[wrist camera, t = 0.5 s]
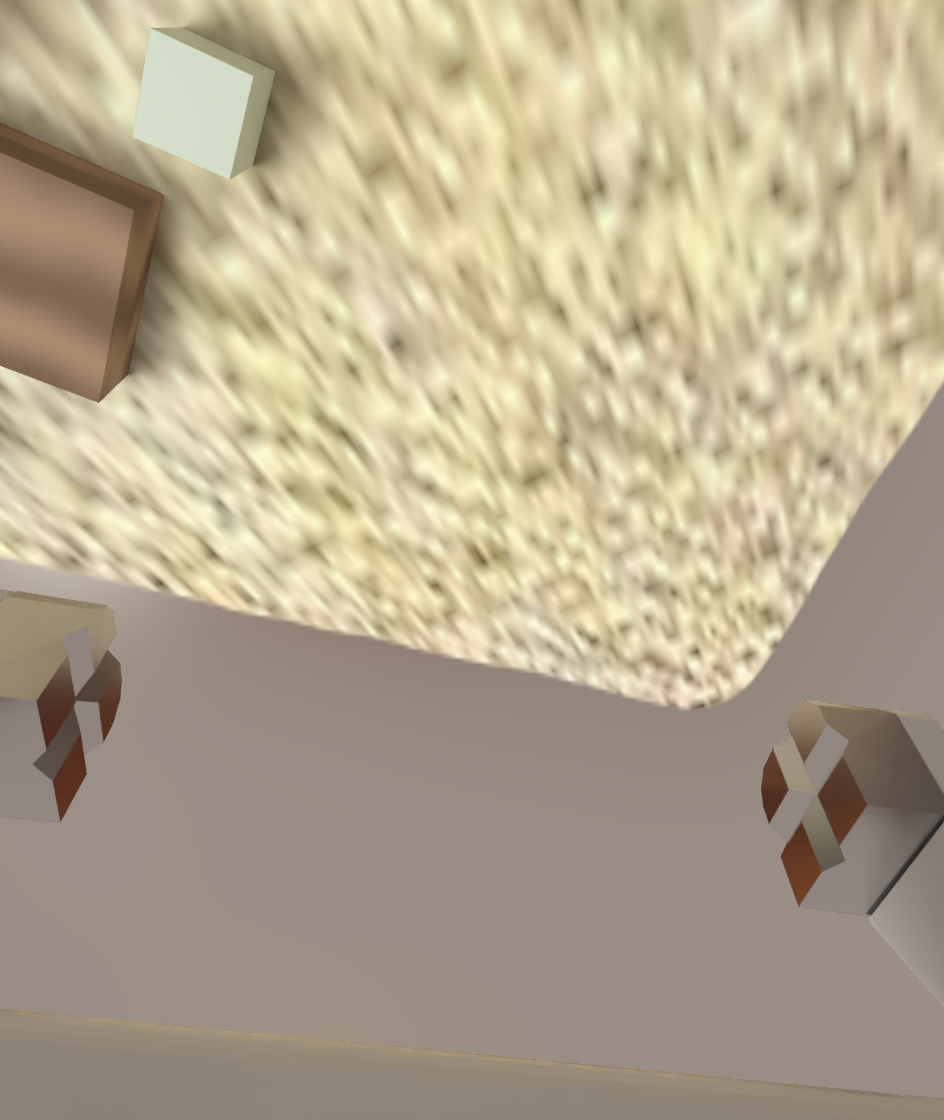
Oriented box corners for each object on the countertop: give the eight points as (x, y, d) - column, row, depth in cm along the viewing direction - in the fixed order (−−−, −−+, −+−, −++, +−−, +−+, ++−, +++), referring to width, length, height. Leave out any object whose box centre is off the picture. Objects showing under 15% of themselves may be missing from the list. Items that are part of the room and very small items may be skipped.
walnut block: (-51, 99, 44) (-107, 106, 40) (165, 193, 47) (134, 210, 42) (-62, 299, 50) (-111, 323, 46) (129, 373, 53) (98, 402, 49)
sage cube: (183, 27, 42) (150, 28, 38) (276, 71, 43) (253, 76, 39) (165, 126, 44) (132, 137, 40) (253, 165, 45) (229, 179, 41)
